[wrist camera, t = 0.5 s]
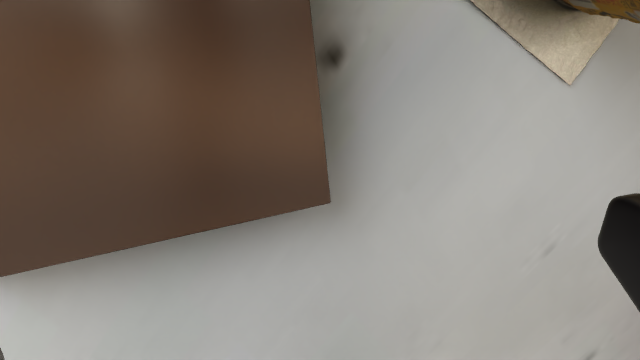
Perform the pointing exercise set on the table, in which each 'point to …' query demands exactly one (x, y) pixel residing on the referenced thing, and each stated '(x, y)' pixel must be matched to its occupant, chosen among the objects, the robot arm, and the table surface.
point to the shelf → (152, 122)
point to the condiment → (560, 27)
